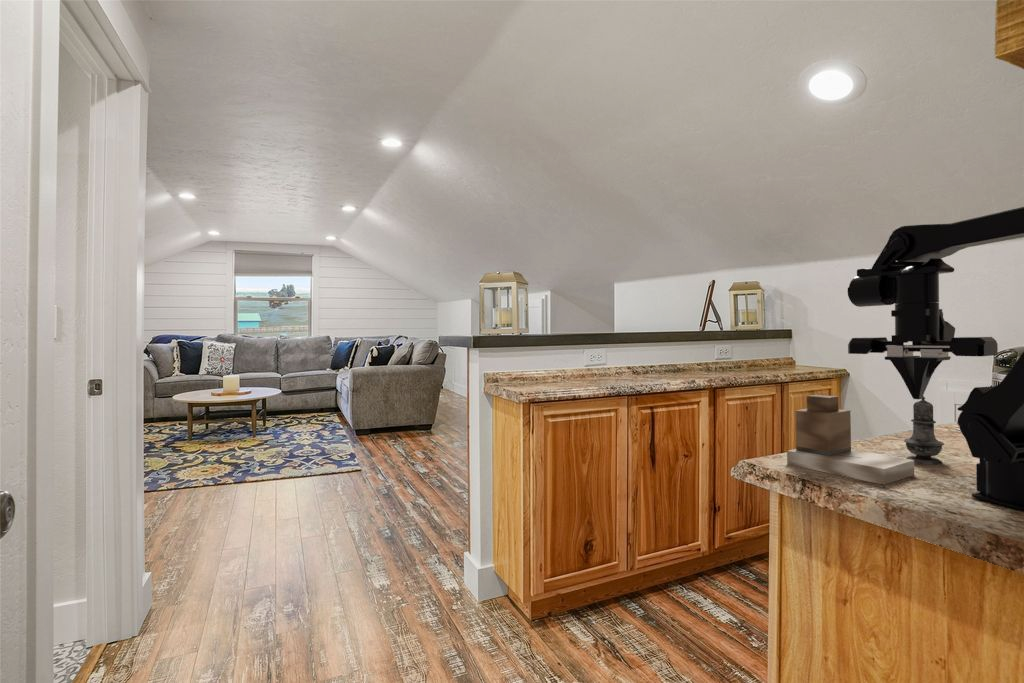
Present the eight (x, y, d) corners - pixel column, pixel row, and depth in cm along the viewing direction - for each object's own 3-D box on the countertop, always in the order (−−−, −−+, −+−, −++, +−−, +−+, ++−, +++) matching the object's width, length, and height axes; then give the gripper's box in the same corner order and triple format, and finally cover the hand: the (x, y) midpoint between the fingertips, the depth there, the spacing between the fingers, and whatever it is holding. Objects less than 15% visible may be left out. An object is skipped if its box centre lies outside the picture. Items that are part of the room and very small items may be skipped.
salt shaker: (945, 466, 93) (944, 398, 93) (903, 462, 96) (902, 397, 96) (943, 459, 97) (942, 395, 97) (904, 455, 101) (903, 393, 101)
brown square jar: (851, 451, 95) (850, 396, 95) (829, 456, 91) (828, 399, 91) (817, 445, 100) (816, 393, 100) (796, 450, 97) (795, 396, 96)
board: (914, 474, 88) (914, 459, 88) (884, 484, 83) (884, 468, 83) (818, 456, 102) (817, 443, 102) (787, 464, 97) (787, 450, 97)
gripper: (1011, 300, 82) (1011, 400, 82) (878, 307, 98) (879, 390, 98) (982, 299, 76) (982, 407, 76) (845, 306, 92) (846, 395, 92)
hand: (917, 399), depth 86 cm, fingers closed
